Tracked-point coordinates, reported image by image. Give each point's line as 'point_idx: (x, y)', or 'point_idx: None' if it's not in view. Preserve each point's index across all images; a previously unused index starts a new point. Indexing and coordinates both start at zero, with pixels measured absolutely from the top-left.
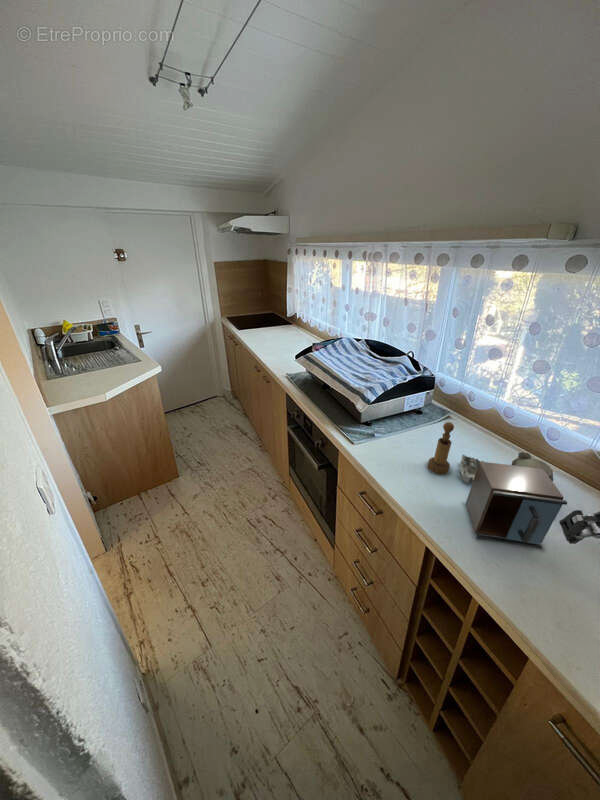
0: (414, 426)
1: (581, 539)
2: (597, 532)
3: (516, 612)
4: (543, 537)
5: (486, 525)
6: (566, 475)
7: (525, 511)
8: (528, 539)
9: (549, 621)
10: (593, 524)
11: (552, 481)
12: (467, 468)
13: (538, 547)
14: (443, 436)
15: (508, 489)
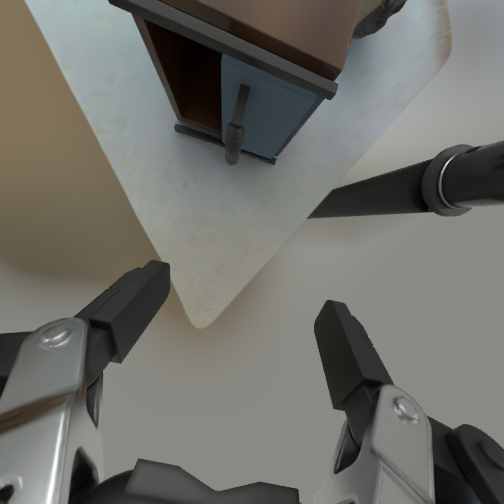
0: None
1: (128, 348)
2: (91, 473)
3: (173, 254)
4: (280, 150)
5: (203, 106)
6: (444, 4)
7: (234, 97)
8: (229, 162)
9: (210, 265)
10: (74, 457)
11: (399, 10)
12: None
13: (269, 162)
14: None
15: None
